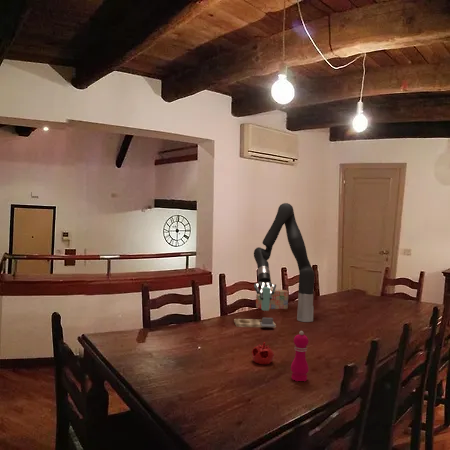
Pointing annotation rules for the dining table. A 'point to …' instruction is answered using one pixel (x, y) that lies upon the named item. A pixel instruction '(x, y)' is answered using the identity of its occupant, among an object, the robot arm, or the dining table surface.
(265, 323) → the lid
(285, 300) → the stack of blocks
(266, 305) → the peg
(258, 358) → the pomegranate
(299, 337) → the pepper mill
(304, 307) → the robot arm
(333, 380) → the dining table surface
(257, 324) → the puzzle board
